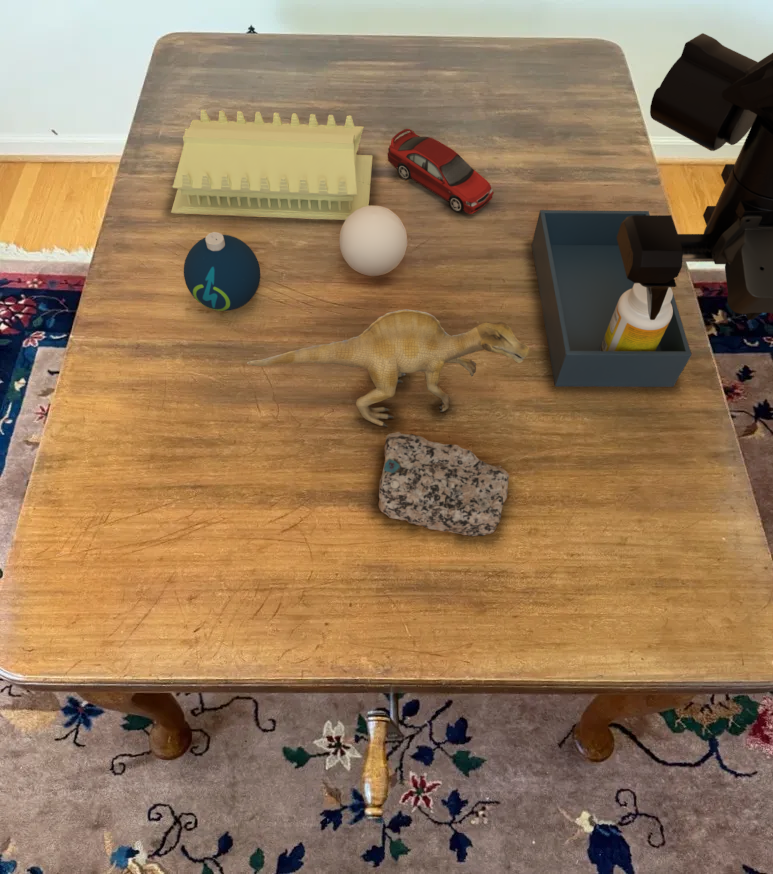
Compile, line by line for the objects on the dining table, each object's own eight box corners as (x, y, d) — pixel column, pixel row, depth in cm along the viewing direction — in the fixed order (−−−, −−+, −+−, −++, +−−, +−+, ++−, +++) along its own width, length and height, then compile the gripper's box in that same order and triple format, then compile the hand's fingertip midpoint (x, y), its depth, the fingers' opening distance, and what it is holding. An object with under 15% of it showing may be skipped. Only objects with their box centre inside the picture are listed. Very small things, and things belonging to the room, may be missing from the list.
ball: (336, 288, 88) (334, 236, 81) (343, 241, 92) (341, 188, 86) (404, 292, 88) (407, 240, 81) (407, 245, 92) (410, 192, 86)
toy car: (413, 150, 102) (415, 118, 98) (494, 204, 97) (500, 172, 92) (384, 168, 100) (384, 135, 96) (465, 224, 94) (470, 192, 90)
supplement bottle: (659, 365, 82) (693, 301, 73) (617, 382, 81) (647, 318, 72) (629, 330, 85) (659, 264, 76) (588, 346, 83) (614, 280, 75)
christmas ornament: (176, 305, 86) (156, 239, 78) (225, 263, 90) (210, 196, 82) (231, 337, 84) (216, 273, 75) (279, 293, 87) (269, 227, 79)
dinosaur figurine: (514, 416, 78) (538, 332, 67) (262, 438, 76) (244, 356, 65) (499, 359, 83) (520, 272, 71) (260, 379, 81) (243, 292, 69)
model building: (372, 155, 102) (372, 107, 96) (367, 222, 94) (367, 175, 88) (190, 148, 102) (179, 99, 96) (171, 214, 94) (157, 167, 88)
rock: (368, 521, 72) (368, 499, 68) (386, 446, 76) (387, 422, 72) (497, 546, 70) (505, 525, 67) (508, 469, 75) (515, 445, 71)
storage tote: (673, 387, 81) (691, 355, 76) (554, 386, 81) (566, 354, 76) (634, 245, 93) (648, 210, 88) (531, 245, 93) (539, 209, 88)
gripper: (673, 248, 53) (616, 384, 66) (935, 247, 53) (827, 383, 66) (642, 151, 59) (595, 293, 72) (877, 151, 59) (788, 292, 72)
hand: (699, 316), depth 70 cm, fingers open, 9 cm apart
